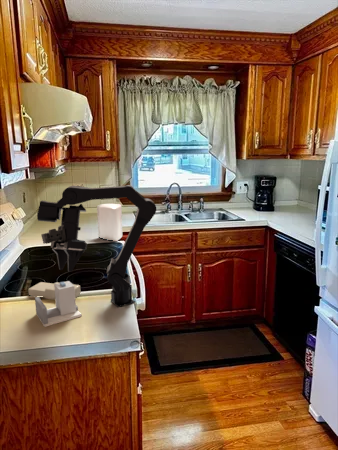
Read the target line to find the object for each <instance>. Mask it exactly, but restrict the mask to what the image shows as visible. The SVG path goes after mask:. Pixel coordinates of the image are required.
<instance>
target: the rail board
mask: <svg viewBox="0 0 338 450" xmlns="http://www.w3.org/2000/svg"><path fill="white" fill-rule="evenodd" d="M34 304H35V315H36V317H38V319H39V320H40V322H41V325H43V327H48V326H53V325H56V324H58V323H62V322H66V321H70V320H73V319H77V318H81V317H82V313H81V311H79V307H78V305H77V304H76V312H73V313H69V314H66V315H62V316H61V314H60V311H59V310H58V308H56V306H55V307H50V308H47V307H46V305H45V303H44V302H43V301H42V300H41V298H40V297H34Z"/></svg>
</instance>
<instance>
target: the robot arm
mask: <svg viewBox="0 0 338 450" xmlns="http://www.w3.org/2000/svg"><path fill="white" fill-rule="evenodd" d="M61 195H62V196H61V198H60V199H58V200H57V202H54V201H47V200H40V201H39V205H38V211H37V212H36V213H37V215H36V216H37V221H38V222H46V223H57V221H58V220H59V221H60V220H61V222H60V225H59V226H58V227H57V229H56V228H52V229H49V230H48V232H45V233H41V240H42V243H43V245H44V244H45V245H47V244H50V248H52V249H51V250H52V251H53V252H54V253H55V254H56V259H57V264H58V269H59V270H60V271H63V270H64V268H65V266H66V264H67V272H70V273H71V272H73V270H74V268H75V267H76V265H77V263H78V261H79V260H80V259H81V257H82V255H83V253H85V250H87V246H88V243H87V242H86V240H83V239H79V238H78V237H79V231H81V228H82V227H80V220H81V219H80V218H81V213H82V212H83V213H86V212H87V209H86V208H85V207H84V206H83V204H82V203H85V202H89V201H95V200H107V199H108V200H110V199H123V198H126V199H128V200H129V201H130V202H131V203H132V204H133V205H134V206H135V207H137V209H136V213H135V218H134V222H133V224H132V225H131V228H130V230H129V233H128V235H127V236H126V239H125V241H124V243H123V246H122V248H121V250H120V252H119V254H118V256H117V257H116V258H113V257H111V258H110V263H109V265H108V266H107V268H106V274H107V277H106V278H107V282H108V283H109V284H110V285H112V286H111V289H112V290H111V292H110V295H111V299H110V302H111V303H113V304H114V305H115V306H116V307H118V308H120V307H123V306H127V305H130V304H133V303H135V300H134V299H133V289H132V288H133V287H132V284H131V279H130V275H129V274H128V272H127V268H128V263H129V261H130V259H131V257H132V254H133V253H134V251H135V248H136V246H137V244H138V242H139V239H140V237H141V236H142V233H143V232H144V229H145V227H146V226H147V225H148V224H149V223H150V222H151V220H152V219H153V218H154V216H155V215H156V213H157V206H156V203H155V202H154V201H153V200H152V199H151V198H147V197H144V196H143V194H141V193H140V192H138V191H137V190H136V189H135V188H134V186H132V185H129V184H127V185H120V186H119V185H117V186H103V187H102V186H101V187H88V186H87V187H85V186H82V185H81V186H79V185H69V186H68V187H67V188H65V189H64V190H63V191H62V193H61ZM67 205H69V206H68V207H66V206H67Z"/></svg>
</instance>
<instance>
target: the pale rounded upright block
mask: <svg viewBox="0 0 338 450" xmlns="http://www.w3.org/2000/svg"><path fill="white" fill-rule="evenodd" d="M96 208H97V209H96V211H97V229H98V231H97V232H98V233H97V235H98V238H99V237H101V238H104V239H108V240H113V241H112V242H117V241H119V240H121V238H123V219H122V217H123V215H122V214H123V213H122V212H123V211H122V204H119V203H101V204H98V205H97V206H96ZM108 240H107V241H108Z"/></svg>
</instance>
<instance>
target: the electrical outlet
mask: <svg viewBox="0 0 338 450" xmlns="http://www.w3.org/2000/svg"><path fill="white" fill-rule="evenodd" d="M57 283H59V282H57V281H56V282H54V283H52V282H51V283H50V282H43V281H40V282H38V283H36V284H35V285H33V286H31V287H29V288H28V290H27V291H28V296H29V295H32V296H31V297H33V296H43V297H45V298H44V299H48V300H54V301H55V288H54V284H57ZM72 284H73V285H74V287H75V299H77V298H78V297H79V296H80V293H81V294H82V291H81V285H79V284H74V283H72Z"/></svg>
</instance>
